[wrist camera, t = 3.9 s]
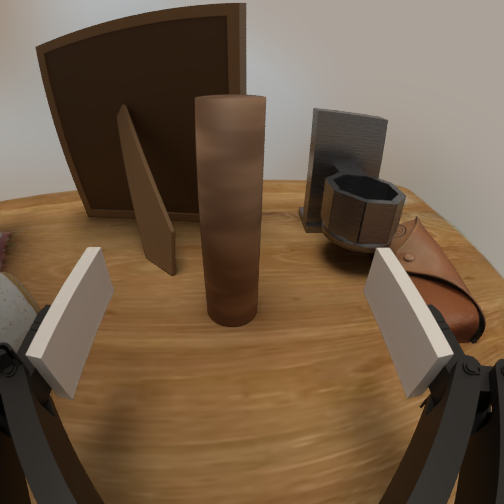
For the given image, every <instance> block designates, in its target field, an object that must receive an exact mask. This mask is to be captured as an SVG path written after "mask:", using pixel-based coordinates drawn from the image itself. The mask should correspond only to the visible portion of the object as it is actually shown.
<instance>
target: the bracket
mask: <svg viewBox="0 0 504 504" xmlns="http://www.w3.org/2000/svg"><path fill="white" fill-rule="evenodd" d="M387 123H388V120H386V119H384V118H381V117H377V116H371V115H365V114H359V113H351V112H344V111H336V110H328V109H318V108H314V109H313V122H312V134H311V145H310V154H309V155H310V156H309V165H308V174H307V184H306V193H305V202H304V207H299V215H300V218H301V221H302V223H303V226H304V228H305V231H306V232H322V233H323V234H324V235H325V236H326V237H327V238H328V239H329V240H330V241H331V242H333V243H334V244H336V245H338V246H340V247H342V248H345V249H348V250H351V251H355V252H361V253H375V251H376V248H388V247H389V246H390V245H391V241H392V238H393V236H394V235H395V234H396V232H397V228H398V225H399V221H400V217H401V214H402V210H403V206H404V202H405V198H406V195H405V194H404V193H403V192H401V191H400V190H399V189H398V188H397V187H396V186H395V185H394V184H392V183H390V182H387V181H384V180H381V179H379V178H378V177H379V172H380V166H381V161H382V155H383V149H384V143H385V137H386V130H387Z"/></svg>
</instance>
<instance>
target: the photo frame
mask: <svg viewBox="0 0 504 504" xmlns="http://www.w3.org/2000/svg"><path fill="white" fill-rule="evenodd" d="M36 51H37V57H38V62H39V67H40V71H41V75H42V80H43V84H44V88H45V92H46V96H47V100H48V104H49V107H50V111H51V115H52V118H53V121H54V125H55V128H56V131H57V134H58V137H59V141H60V144H61V146H62V149H63V152H64V155H65V158H66V161H67V164H68V166H69V169H70V172H71V174H72V177H73V180H74V182H75V185H76V188H77V190H78V193H79V195H80V198H81V200H82V202H83V205H84V207H85V209H86V212H87V214H88V216H94V217H117V218H136V220H137V224H138V228H139V232H140V236H141V240H142V244H143V248H144V252H145V255H146V258H147V259H148V260H150V261H151V262H153V263H154V264H156V265H157V266H159V267H160V268H162V269H163V270H165V271H166V272H168V273H169V274H171V275H174V274H176V264H175V230H174V227H173V225H172V223H171V220H175V221H191V222H200V214H199V198H198V179H197V158H196V129H195V98H196V97H200V96H209V95H246V3H225V4H208V5H197V6H187V7H179V8H172V9H165V10H159V11H153V12H147V13H143V14H138V15H133V16H128V17H124V18H120V19H116V20H112V21H108V22H105V23H101V24H98V25H94V26H91V27H88V28H85V29H82V30H79V31H75V32H73V33H70V34H67V35H64V36H61V37H59V38H56V39H54V40H51V41H49V42H46V43H44V44H41V45H39V46H37V47H36Z"/></svg>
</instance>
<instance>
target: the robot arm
mask: <svg viewBox="0 0 504 504" xmlns="http://www.w3.org/2000/svg"><path fill="white" fill-rule="evenodd" d="M113 292H114V289H113V286H112V283H111V280H110V276H109V273H108V270H107V266H106V263H105V260H104V256H103V252H102V249H101V247H87V249H86V250H85V252H84V253H83V255H82V256H81V258H80V259H79V261H78V263H77V264H76V266H75V267H74V269H73V270H72V272H71V273H70V275H69V277H68V278H67V280H66V282H65V283H64V285H63V286H62V288H61V290H60V291H59V293H58V295H57V297H56V298H55V300H54V302H53V303H52V305H46V306H45V307H44V308H43V309H42V310H41V311H40V312H39V313H38V314H37V316H36V318H35V319H34V321H33V323H32V325H31V327H30V330H29V331H28V332H27V334H26V336H25V338H24V340H23V342H22V344H21V346H20V348H19V350H18V352H17V354H16V353H15V351H14V350H13V348H12V347H11V345H9V344H8V343H4V342H2V343H0V504H31V501H30V497H29V493H28V488H27V483H26V478H27V481H28V483H29V486H30V488H31V490H32V493H33V495H34V497H35V499H36V501H37V504H104V502H103V501H102V499H101V497H100V496H99V494H98V493H97V491H96V489H95V488H94V486H93V484H92V482H91V481H90V479H89V477H88V475H87V474H86V472H85V470H84V468H83V466H82V464H81V463H80V461H79V459H78V457H77V455H76V453H75V451H74V449H73V447H72V445H71V442H70V440H69V438H68V436H67V434H66V431H65V429H64V427H63V425H62V422H61V420H60V417H59V415H58V413H57V410H56V408H55V405H54V402H53V400H52V398H51V397H50V392H51V389H52V390H53V391H54V392H55V393H56V395H57V396H58V397H62V398H67V399H71V400H73V398H74V395H75V392H76V389H77V386H78V383H79V380H80V377H81V374H82V371H83V368H84V365H85V362H86V360H87V357H88V354H89V352H90V349H91V346H92V344H93V341H94V338H95V336H96V333H97V331H98V328H99V326H100V323H101V321H102V318H103V316H104V313H105V311H106V309H107V306H108V304H109V302H110V299H111V297H112V295H113ZM363 292H364V294H365V297H366V299H367V301H368V303H369V305H370V308H371V310H372V312H373V315H374V317H375V319H376V321H377V324H378V326H379V329H380V331H381V333H382V336H383V338H384V340H385V343H386V345H387V348H388V350H389V353H390V355H391V358H392V360H393V363H394V365H395V368H396V371H397V373H398V376H399V379H400V381H401V384H402V387H403V389H404V392H405V395H406V398H411V397H416V396H420V395H422V394H423V393H424V392H425V391H426V389H427V388H428V387H429V389H430V392H431V394H430V395H429V396H428V397H427V398H426V399H425V400H424V402H423V403H422V404H421V406H420V408H422V407H423V406H424V405H425V407H424V409H423V412H422V415H421V417H420V420H419V422H418V425H417V427H416V430H415V432H414V435H413V437H412V439H411V442H410V444H409V446H408V448H407V451H406V453H405V455H404V457H403V459H402V461H401V463H400V465H399V467H398V469H397V471H396V473H395V475H394V477H393V479H392V481H391V483H390V485H389V486H388V488H387V490H386V492H385V494H384V495H383V497H382V499H381V500H380V502H379V504H447V502H448V499H449V497H450V494H451V492H452V489H453V487H454V484H455V482H456V479H457V476H458V473H459V479H458V485H457V492H456V497H455V502H454V504H504V359H500V360H498V361H497V363H496V364H495V365H494V366H493V367H492V366H481V365H480V363H479V362H478V361H477V359H475V358H474V357H472V356H468V355H465V354H464V352H463V351H462V349H461V347H460V345H459V343H458V341H457V340H456V338H455V336H454V334H453V333H452V331H451V330H450V327H449V326H448V324H447V322H445V321H446V320H445V319H444V317H443V315H442V314H441V312H440V311H439V310H438V309H437V308H436V307H435V306H433V305H432V304H430V305H426V303H425V302H424V300H423V298H422V297H421V295H420V293H419V292H418V290H417V289H416V287H415V285H414V284H413V282H412V281H411V279H410V277H409V276H408V274H407V273H406V271H405V270H404V268H403V267H402V265H401V264H400V262H399V261H398V259H397V258H396V256H395V255H394V253H393V252H392V250H391V249H390V248H376V251H375V254H374V258H373V261H372V265H371V268H370V271H369V274H368V278H367V281H366V284H365V287H364V290H363ZM491 406H492V412H491ZM459 470H460V472H459ZM25 476H26V478H25Z"/></svg>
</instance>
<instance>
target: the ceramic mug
mask: <svg viewBox="0 0 504 504" xmlns="http://www.w3.org/2000/svg"><path fill="white" fill-rule="evenodd" d="M40 311H41V310H40V308H39V306H38V305H37V303H36V302H35V300H34V299H33V297H32V296H31V295H30V293H29V292H28V291H27V289H26V288H25V287H24V286H23V285H22V284H21V282H20V281H19V280H17V279H16V278H15V277H14V276H13V275H11V274H9V273H6V272H0V343H2V342H4V343H8V344H9V345H11V347H12V348H13V350H14V351H15V353H16V354H17V352H18V350H19V348H20V346H21V344H22V342H23V340H24V338H25V336H26V334H27V332H28V331H29V330H30V327H31V325H32V323H33V321H34V319H35V318H36V316H37V314H38V313H39V312H40Z"/></svg>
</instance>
